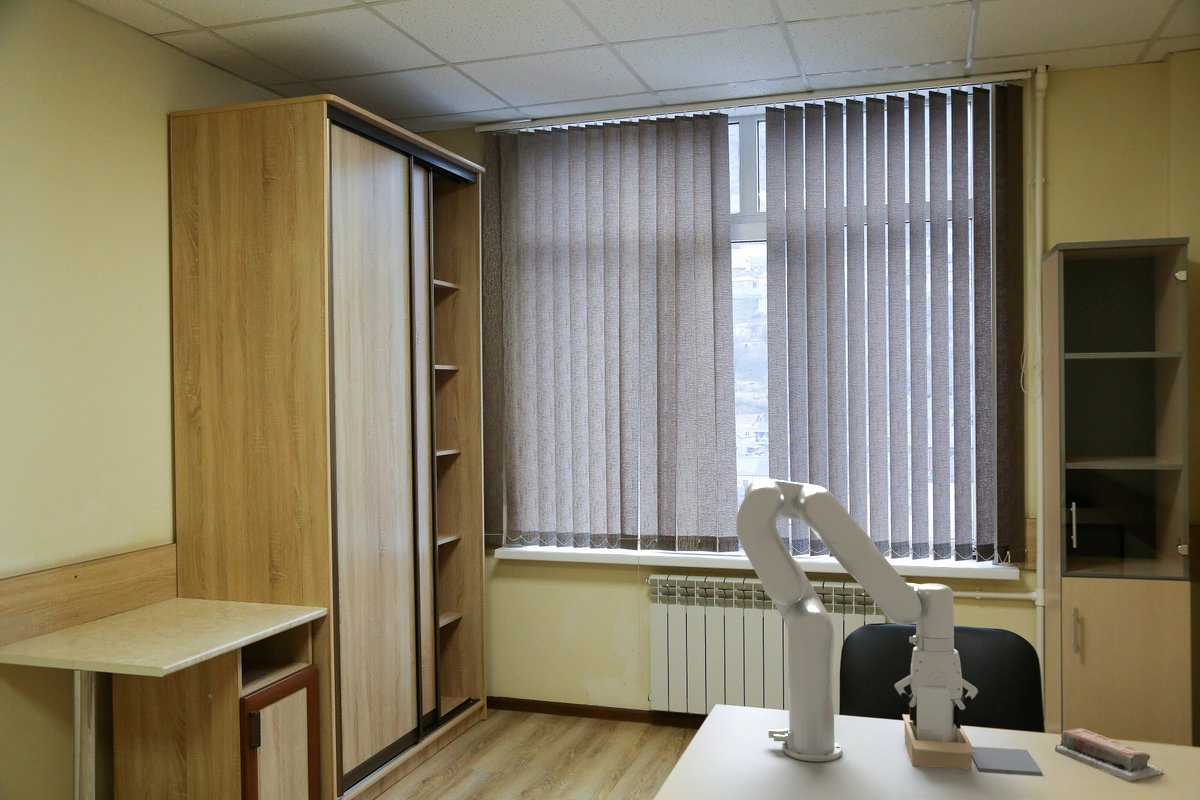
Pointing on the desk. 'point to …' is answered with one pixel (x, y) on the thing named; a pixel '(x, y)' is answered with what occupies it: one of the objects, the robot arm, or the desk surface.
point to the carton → (938, 749)
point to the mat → (1005, 760)
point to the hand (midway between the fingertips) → (936, 724)
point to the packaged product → (1106, 754)
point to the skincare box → (935, 714)
